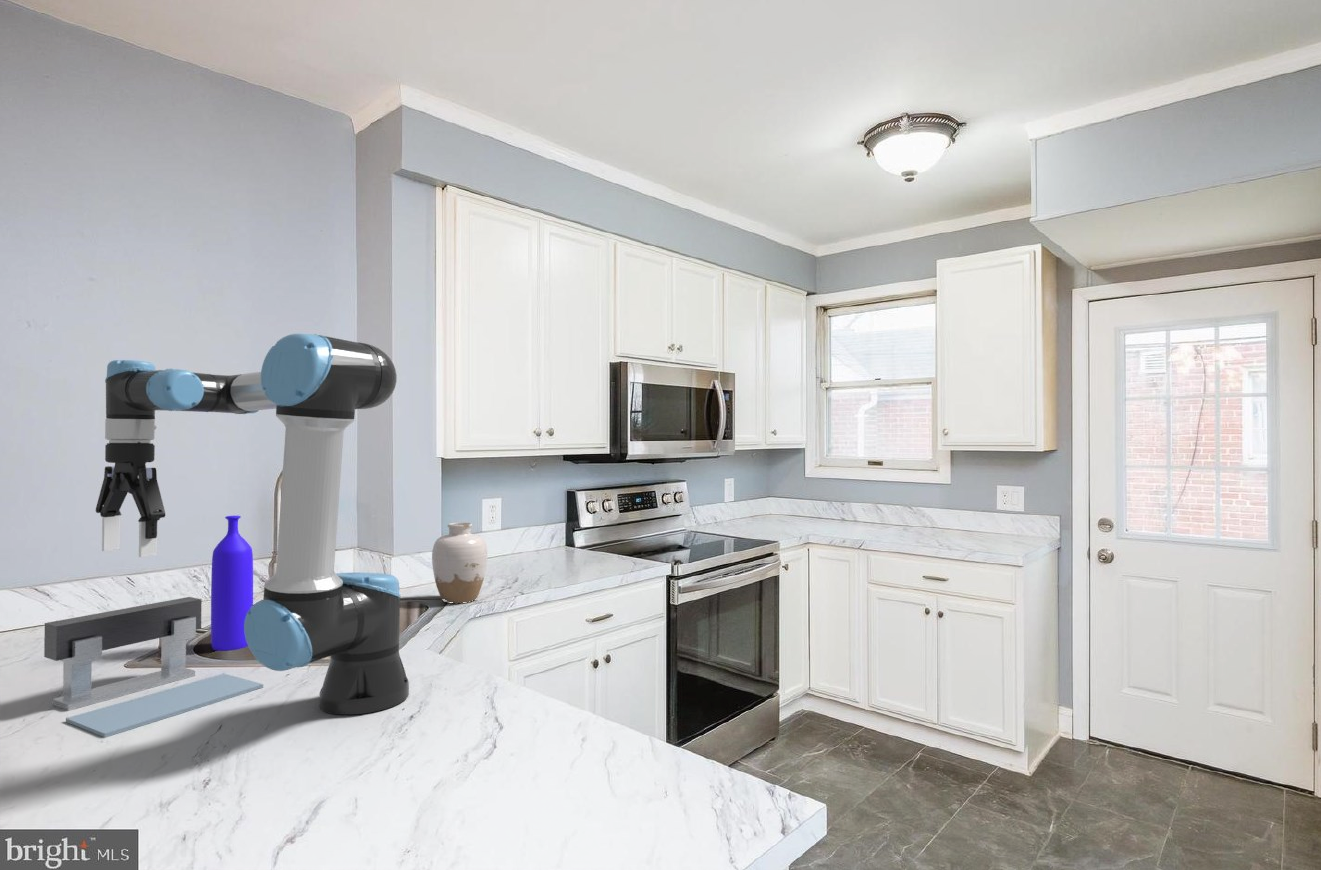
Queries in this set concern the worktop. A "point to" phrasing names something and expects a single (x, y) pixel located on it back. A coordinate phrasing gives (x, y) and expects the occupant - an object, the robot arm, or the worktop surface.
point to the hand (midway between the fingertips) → (129, 553)
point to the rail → (119, 626)
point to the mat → (162, 704)
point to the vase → (459, 563)
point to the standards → (171, 670)
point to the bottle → (231, 589)
